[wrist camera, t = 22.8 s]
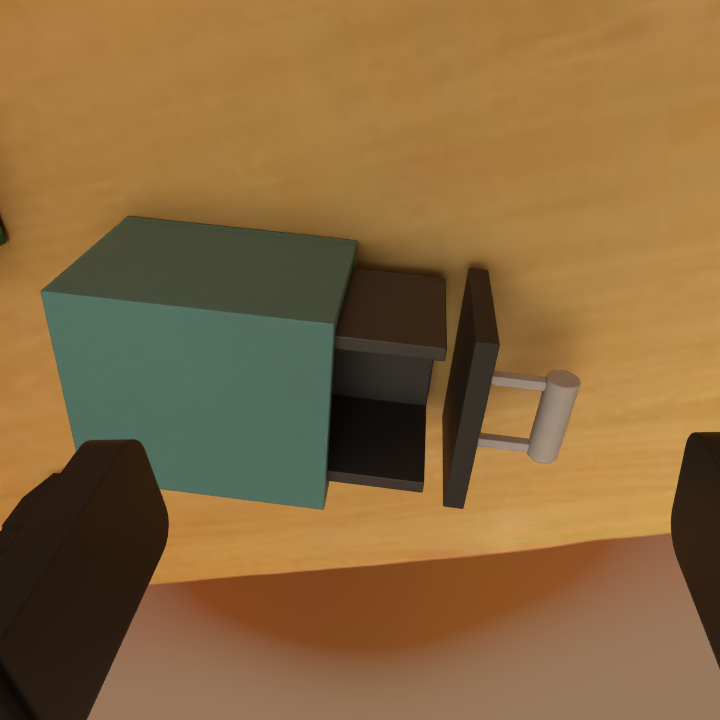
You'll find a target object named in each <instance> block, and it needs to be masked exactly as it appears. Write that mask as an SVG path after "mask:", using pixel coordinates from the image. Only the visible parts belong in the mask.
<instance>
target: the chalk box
mask: <svg viewBox="0 0 720 720" xmlns="http://www.w3.org/2000/svg"><path fill="white" fill-rule="evenodd" d="M6 241H7V240H6V238H5V235H4V234H3V230H2V228H1V225H0V246H1V245H3V244H5V243H6Z"/></svg>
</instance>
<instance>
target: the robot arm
mask: <svg viewBox="0 0 720 720" xmlns="http://www.w3.org/2000/svg"><path fill="white" fill-rule="evenodd" d="M168 528H169V521H168V513H167V509H166V506H165V503H164V500H163V497H162V495H161V492H160V489H159V486H158V484H157V481H156V478H155V475H154V473H153V470H152V467H151V464H150V462H149V459H148V456H147V453H146V451H145V448H144V446H143V445H142V443H141V442H140V441H138V440H135V439H115V440H88V441H86V442H84V443H83V444H82V445H81V446H80V447H79V448H78V450H77V451H76V453H75V454H74V455H73V457H72V458H71V460H70V461H69V462H68V464H67V465H66V467H65V468H64V469H63V471H62V472H61V473H53V474H52V475H51V476H50V477H48V478H47V479H46V480H44V481H43V482H42V483H41V484H39V485H38V486H37V487H36V488H34V489H33V490H32V491H31V492H29V493H28V494H27V495H25V496H24V497H23V498H22V499H21V501H20V502H19V503H18V505H17V506H16V507H15V509H14V510H13V511H12V513H11V514H10V515H9V517H8V518H7V519H6V521H5V522H4V523H3V525H2V530H1V531H0V720H87V718H88V716H89V713H90V711H91V709H92V707H93V704H94V703H95V700H96V698H97V696H98V694H99V692H100V689H101V687H102V685H103V683H104V681H105V678H106V676H107V674H108V672H109V670H110V668H111V665H112V663H113V661H114V659H115V657H116V654H117V652H118V650H119V648H120V646H121V643H122V641H123V639H124V637H125V634H126V632H127V630H128V628H129V626H130V624H131V621H132V619H133V617H134V615H135V613H136V611H137V608H138V606H139V604H140V601H141V599H142V597H143V595H144V593H145V591H146V588H147V586H148V584H149V582H150V580H151V578H152V575H153V573H154V571H155V569H156V567H157V564H158V562H159V560H160V558H161V556H162V554H163V551H164V549H165V546H166V542H167V538H168ZM671 533H672V541H673V546H674V550H675V554H676V557H677V560H678V563H679V565H680V568H681V570H682V573H683V575H684V578H685V581H686V583H687V586H688V588H689V591H690V593H691V596H692V598H693V601H694V604H695V606H696V609H697V611H698V614H699V616H700V619H701V622H702V624H703V627H704V629H705V632H706V635H707V637H708V640H709V642H710V645H711V647H712V650H713V652H714V655H715V658H716V660H717V663H718V665H719V668H720V432H694V433H692V434H691V435H690V436H689V438H688V440H687V443H686V446H685V451H684V456H683V461H682V465H681V470H680V475H679V480H678V484H677V489H676V494H675V498H674V503H673V508H672V514H671Z"/></svg>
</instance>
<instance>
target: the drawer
mask: <svg viewBox="0 0 720 720" xmlns="http://www.w3.org/2000/svg"><path fill="white" fill-rule="evenodd" d="M499 346H500V344H499V337H498V331H497V324H496V318H495V311H494V304H493V298H492V291H491V285H490V278H489V272H488V270H485V269H476V268H469V269H468V275H467V280H466V286H465V291H464V297H463V303H462V308H461V314H460V320H459V325H458V331H457V336H456V342H455V348H454V353H453V359H452V365H451V370H450V376H449V381H448V387H447V393H446V398H445V404H444V410H443V415H442V424H443V506H445V507H452V508H460V509H463V508H464V503H465V499H466V494H467V490H468V485H469V481H470V476H471V472H472V467H473V463H474V458H475V454H476V449H477V446H479V447H488V448H496V449H504V450H512V451H521V452H527V454H528V456H529V457H530V458H531V459H533V460H534V461H536V462H539V463H544V464H549V463H553V462H554V461H555V460H556V459H557V457H558V454H559V451H560V447H561V444H562V441H563V438H564V435H565V431H566V428H567V425H568V422H569V419H570V416H571V412H572V409H573V406H574V403H575V400H576V397H577V393H578V390H579V387H580V380H579V378H578V377H577V376H576V375H574V374H572V373H570V372H568V371H564V370H553V371H550V372H549V373H548V374H547V377H546V378H545V377H542V376H533V375H524V374H516V373H507V372H498V371H494V368H495V364H496V359H497V355H498V350H499ZM446 351H447V330H446V282H445V278H440V277H431V276H421V275H412V274H403V273H394V272H385V271H376V270H367V269H357V268H352V271H351V274H350V278H349V282H348V285H347V289H346V293H345V296H344V300H343V304H342V308H341V311H340V315H339V319H338V322H337V326H336V331H335V349H334V366H333V383H332V400H331V417H330V434H329V452H328V469H327V481H334V482H342V483H350V484H358V485H366V486H374V487H382V488H390V489H398V490H406V491H414V492H423V486H424V467H425V431H426V404H427V398H428V391H429V385H430V379H431V372H432V366H433V360H437V361H445V357H446ZM491 385H495V386H503V387H512V388H520V389H529V390H537V391H542V395H541V398H540V402H539V405H538V409H537V413H536V416H535V420H534V423H533V427H532V431H531V434H530V438H529V440H528V439H527V438H519V437H510V436H502V435H494V434H485V433H480V431H481V427H482V422H483V418H484V413H485V409H486V404H487V400H488V395H489V391H490V386H491Z"/></svg>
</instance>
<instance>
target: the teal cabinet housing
mask: <svg viewBox="0 0 720 720" xmlns="http://www.w3.org/2000/svg"><path fill="white" fill-rule="evenodd" d="M356 254H357V241H356V240H346V239H337V238H328V237H319V236H309V235H300V234H291V233H281V232H272V231H263V230H253V229H244V228H235V227H225V226H216V225H207V224H197V223H188V222H179V221H169V220H160V219H151V218H141V217H132V216H127V217H126V218H125V219H124V220H123V221H121V222H120V223H119V224H118V225H117V226H116V227H115V228H113V229H112V230H111V231H110V232H109V233H108V234H106V235H105V236H104V237H103V238H102V239H101V240H99V241H98V242H97V243H96V244H95V245H94V246H93V247H91V248H90V249H89V250H88V251H87V252H86V253H84V254H83V255H82V256H81V257H80V258H79V259H77V260H76V261H75V262H74V263H73V264H72V265H71V266H69V267H68V268H67V269H66V270H65V271H64V272H62V273H61V274H60V275H59V276H58V277H57V278H55V279H54V280H53V281H52V282H51V283H50V284H48V285H47V286H46V287H45V288H43V289H42V290H41V296H42V300H43V305H44V309H45V314H46V318H47V323H48V327H49V332H50V336H51V341H52V345H53V350H54V354H55V359H56V363H57V368H58V372H59V377H60V381H61V386H62V390H63V395H64V399H65V404H66V408H67V413H68V417H69V422H70V426H71V431H72V435H73V439H74V444H75V448H76V451H77V450H78V448H79V447H80V446H81V445H82V444H83V443H84V442H86V441H88V440H115V439H135V440H138V441H140V442H141V443H142V445H143V446H144V448H145V451H146V453H147V456H148V459H149V462H150V464H151V467H152V470H153V473H154V475H155V478H156V481H157V484H158V486H159V489H164V490H172V491H180V492H188V493H195V494H203V495H211V496H219V497H227V498H235V499H242V500H250V501H258V502H266V503H274V504H282V505H289V506H297V507H305V508H313V509H321V510H323V509H324V506H325V501H326V496H327V491H328V486H329V481H327V469H328V452H329V434H330V417H331V400H332V383H333V366H334V349H335V331H336V326H337V322H338V319H339V315H340V311H341V308H342V304H343V300H344V296H345V293H346V289H347V285H348V282H349V278H350V274H351V271H352V268H356Z"/></svg>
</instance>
